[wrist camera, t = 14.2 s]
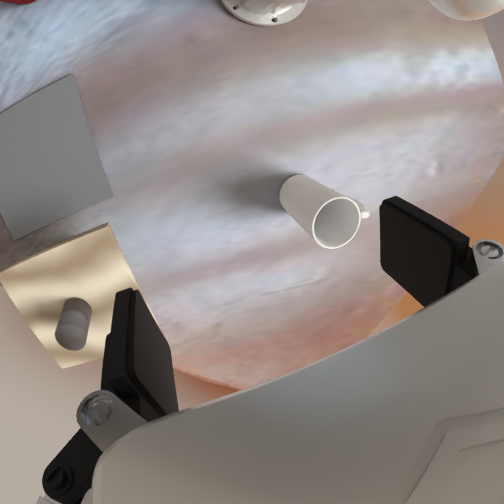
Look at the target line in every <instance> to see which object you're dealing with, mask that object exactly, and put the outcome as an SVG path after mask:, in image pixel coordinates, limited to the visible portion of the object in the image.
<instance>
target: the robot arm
mask: <svg viewBox="0 0 504 504" xmlns="http://www.w3.org/2000/svg"><path fill="white" fill-rule="evenodd" d="M427 1H428V2H429V3H430V4H432V5H433V6H434V7H435V8H436V9H438V10H439V11H440V12H442V13H443V14H445V15H447V16H449V17H451V18H455V19H458V20H477V19H481V18H484V17H487V16H490V15H492V14H494V13H496V12H498V11H500V10H502V9H503V8H504V0H427ZM221 2H222V4H223V5H224V6H225V8H226V9H227V10H228V11H229V12H230V13H231V14H233V15H234V16H235V17H237V18H239V19H240V20H242V21H244V22H247V23H249V24H253V25H257V26H266V27H269V26H277V25H281V24H284V23H287V22H289V21H291V20H292V19H294V18H296V17H297V16H298V15H299V14H300V13H301V12H302V10H303V9H304V8H305V5H306V3H307V0H221ZM233 7H235V8H236V10H234V9H233ZM272 20H274V22H272ZM379 211H380V262H381V266H382V269H383V270H384V271H385V272H386V273H387V274H388V275H389V276H391V277H392V278H393V279H394V280H395V281H396V282H397V283H398V284H400V285H401V286H402V287H403V288H404V289H405V290H406V291H407V292H408V293H410V294H411V295H412V296H413V297H414V298H415V299H416V300H417V301H418V302H419V303H420V304H421V305H423V306H424V308H423V309H421V310H419V311H417V312H415V313H414V314H412V315H410V316H408V317H406V318H404V319H403V320H401V321H399V322H397V323H395V324H393V325H391V326H389V327H387V328H385V329H383V330H381V331H379V332H377V333H375V334H373V335H371V336H369V337H367V338H365V339H363V340H361V341H359V342H357V343H355V344H353V345H350V346H348V347H346V348H344V349H342V350H340V351H337V352H335V353H333V354H331V355H328V356H326V357H324V358H322V359H319V360H317V361H315V362H312V363H310V364H308V365H305V366H303V367H301V368H298V369H296V370H293V371H291V372H288V373H286V374H283V375H281V376H278V377H276V378H273V379H270V380H268V381H265V382H262V383H260V384H257V385H254V386H252V387H249V388H246V389H243V390H240V391H237V392H235V393H232V394H229V395H226V396H223V397H221V398H218V399H214V400H211V401H208V402H205V403H202V404H199V405H196V406H193V407H190V408H187V409H184V410H181V411H179V409H178V402H177V396H176V389H175V382H174V375H173V366H172V358H171V350H170V347H169V344H168V342H167V340H166V339H165V337H164V335H163V334H162V332H161V330H160V328H159V326H158V325H157V323H156V321H155V319H154V317H153V316H152V314H151V312H150V310H149V308H148V306H147V305H146V303H145V301H144V299H143V297H142V295H141V293H140V291H139V290H138V289H137V290H133V289H132V288H131V287H130V288H127V289H124V290H121V291H118V292H116V295H115V301H114V308H113V315H112V323H111V331H110V333H109V334H108V335H107V336H106V340H105V348H104V359H103V367H102V379H101V390H98V391H95V392H92V393H90V394H89V395H88V396H86V397H85V398H84V399H83V400H82V402H81V403H80V405H79V407H78V409H77V414H76V417H77V422H78V424H79V426H80V427H81V428H80V429H79V431H78V432H77V433H76V434H75V435H74V436H73V437H72V439H71V440H70V441H69V442H68V443H67V444H66V446H65V447H64V448H63V449H62V450H61V451H60V452H59V453H58V455H57V456H56V457H55V458H54V459H53V460H52V461H51V463H50V464H49V465H48V466H47V468H46V469H45V471H44V474H43V479H42V484H43V488H44V491H45V493H46V494H45V496H44V498H43V497H41V496H40V497H39V499H38V501H37V503H36V504H504V246H503V245H501V244H500V243H498V242H496V241H493V240H489V239H481V240H477V241H476V242H474V244H473V246H472V248H471V247H469V240H470V238H469V237H467V236H466V235H464V234H462V233H461V232H459V231H458V230H456V229H455V228H453V227H451V226H450V225H448V224H446V223H444V222H443V221H441V220H439V219H438V218H436V217H434V216H432V215H431V214H429V213H427V212H425V211H423V210H422V209H420V208H418V207H416V206H414V205H412V204H411V203H409V202H407V201H405V200H403V199H401V198H399V197H397V196H394V197H391V198H388V199H385V200H383V201H382V205H380V209H379Z"/></svg>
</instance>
